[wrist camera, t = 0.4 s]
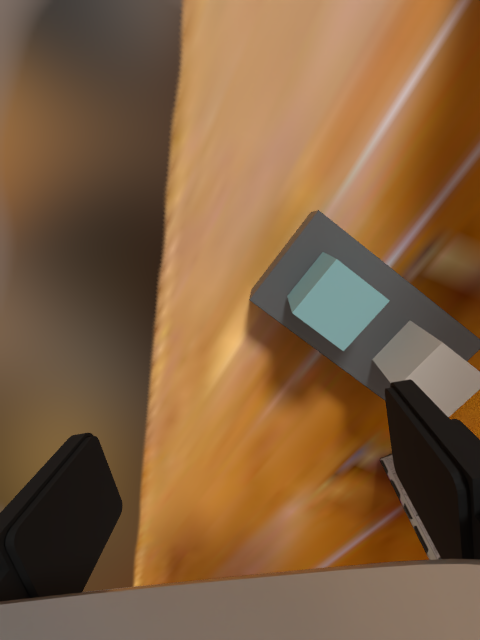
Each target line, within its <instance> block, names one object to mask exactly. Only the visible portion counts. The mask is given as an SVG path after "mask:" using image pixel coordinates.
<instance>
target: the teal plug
mask: <svg viewBox="0 0 480 640" xmlns="http://www.w3.org/2000/svg"><path fill="white" fill-rule="evenodd" d="M287 297H288V301H289V304H290V308H291V311H292V313H293V314H294V315H295V316H297V317H298V318H299V319H301V320H302V321H303V322H305V323H306V324H307V325H309V326H310V327H311V328H313V329H314V330H315V331H317V332H318V333H319V334H321V335H322V336H324V337H325V338H326V339H328V340H329V341H330V342H332V343H333V344H334V345H336V346H337V347H338V348H340V349H341V350H342V351H344V350H345V349H346V348H347V347H348V346H349V345H350V344H351V343H352V342H353V340H354V339H355V338H356V337H357V336H358V335H359V334H360V333H361V332H362V331H363V330H364V328H365V327H366V326H367V325H368V324H369V323H370V322H371V321H372V320H373V319H374V318H375V316H376V315H377V314H378V313H379V312H380V311H381V310H382V309H383V308H384V307H385V306H386V304H387V303H388V302H389V301H390V300H388V299H387V298H386V297H385V296H383V295H382V294H381V293H379V292H378V291H377V290H376V289H374V288H373V287H372V286H371V285H369V284H368V283H367V282H365V281H364V280H363V279H362V278H360V277H359V276H358V275H357V274H355V273H354V272H353V271H351V270H350V269H349V268H348V267H346V266H345V265H344V264H343V263H341V262H340V261H339V260H337V259H336V258H334V257H332V256H330V255H328V254H326V253H324V252H322V254H321V255H320V256H319V257H318V258H317V260H316V261H315V262H314V263H313V265H312V266H311V267H310V268H309V270H308V271H307V272H306V273H305V275H304V276H303V277H302V278H301V280H300V281H299V282H298V283H297V285H296V286H295V287H294V288H293V289H292V291H291V292H290V293H289V294H288V296H287Z"/></svg>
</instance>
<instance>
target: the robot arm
mask: <svg viewBox="0 0 480 640" xmlns="http://www.w3.org/2000/svg"><path fill="white" fill-rule="evenodd" d="M385 400H386V408H387V416H388V424H389V432H390V440H391V448H392V456H393V463H394V468H395V471H396V474H397V476H398V478H399V480H400V482H401V484H402V486H403V488H404V490H405V492H406V493H407V495H408V497H409V499H410V501H411V503H412V505H413V506H414V508H415V510H416V512H417V514H418V516H419V518H420V520H421V521H422V523H423V525H424V527H425V529H426V531H427V533H428V535H429V536H430V538H431V540H432V542H433V544H434V546H435V548H436V549H437V551H438V553H439V555H440V557H441V559H435V560H416V561H398V562H384V563H374V564H364V565H351V566H339V567H328V568H318V569H307V570H297V571H287V572H276V573H266V574H255V575H245V576H235V577H225V578H215V579H205V580H195V581H185V582H176V583H166V584H156V585H147V586H137V587H129V588H128V587H127V588H118V589H109V590H100V591H90V592H82V591H83V589H84V587H85V585H86V583H87V581H88V579H89V577H90V575H91V573H92V571H93V569H94V567H95V565H96V563H97V561H98V559H99V557H100V555H101V553H102V551H103V549H104V547H105V545H106V543H107V541H108V539H109V537H110V535H111V533H112V531H113V529H114V527H115V525H116V523H117V521H118V519H119V517H120V515H121V512H122V500H121V497H120V495H119V492H118V489H117V487H116V484H115V482H114V479H113V477H112V474H111V471H110V468H109V466H108V463H107V460H106V458H105V456H104V453H103V450H102V447H101V445H100V442H99V440H98V438H97V437H96V436H93V435H92V434H91V433H84V434H78V435H73V436H71V437H70V438H69V439H68V440H67V441H66V442H65V443H64V444H63V445H62V446H61V447H60V448H59V450H58V451H57V452H56V453H55V454H54V455H53V456H52V457H51V458H50V459H49V460H48V462H47V463H46V464H45V465H44V466H43V467H42V468H41V469H40V470H39V471H38V472H37V474H36V475H35V476H34V477H33V478H32V479H31V480H30V481H29V482H28V483H27V485H26V486H25V487H24V488H23V489H22V490H21V491H20V492H19V493H18V494H17V495H16V496H15V498H14V499H13V500H12V501H11V502H10V503H9V504H8V505H7V506H6V507H5V508H4V510H3V511H2V512H1V513H0V640H480V440H479V439H478V438H477V437H476V436H475V435H474V434H473V433H472V432H471V431H470V430H469V429H468V428H467V427H466V426H465V425H464V424H463V423H462V422H461V421H459V420H457V419H451V420H450V419H449V418H448V417H447V416H446V415H445V413H444V412H443V411H442V410H441V409H440V408H439V407H438V406H437V405H436V404H435V403H434V402H433V401H432V400H431V399H430V398H429V397H428V396H427V395H426V394H425V393H424V392H423V391H422V390H421V389H420V388H419V387H418V386H417V385H416V383H415V382H414V381H413V380H411V379H409V380H403V381H397V382H391V384H390V388H385Z"/></svg>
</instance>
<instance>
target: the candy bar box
mask: <svg viewBox="0 0 480 640" xmlns="http://www.w3.org/2000/svg"><path fill="white" fill-rule="evenodd" d="M380 462H381V464H382V466H383V467H384V470H385V472H386V474H387V476H388V478H389V480H390V482H391V484H392V486H393V488H394V490H395V492H396V494H397V496H398V498H399V500H400V502H401V504H402V506H403V508H404V510H405V512H406V514H407V516H408V518H409V520H410V522H411V524H412V526H413V528H414V530H415V532H416V534H417V536H418V538H419V540H420V542H421V544H422V546H423V548H424V550H425V552H426V554H427V556H428V558H429V560H435V559H441V557H440V555H439V553H438V551H437V549H436V548H435V546H434V544H433V542H432V540H431V538H430V536H429V535H428V533H427V531H426V529H425V527H424V525H423V523H422V521H421V520H420V518H419V516H418V514H417V512H416V510H415V508H414V506H413V505H412V503H411V501H410V499H409V497H408V495H407V493H406V492H405V490H404V488H403V486H402V484H401V482H400V480H399V478H398V476H397V474H396V471H395V468H394V463H393V456H392V454H390V455H388V456H386V457H384V458H381V459H380Z"/></svg>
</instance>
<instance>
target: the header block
mask: <svg viewBox="0 0 480 640" xmlns="http://www.w3.org/2000/svg"><path fill="white" fill-rule="evenodd" d="M322 252H324V253H326V254H328V255H330V256H332V257H334V258H336V259H337V260H339V261H340V262H341V263H343V264H344V265H345V266H346V267H348V268H349V269H350V270H351V271H353V272H354V273H355V274H357V275H358V276H359V277H360V278H362V279H363V280H364V281H365V282H367V283H368V284H369V285H371V286H372V287H373V288H374V289H376V290H377V291H378V292H379V293H381V294H382V295H383V296H385V297H386V298H387V299H388V300H390V301H389V302H388V303H387V304H386V306H385V307H384V308H383V309H382V310H381V311H380V312H379V313H378V314H377V315H376V316H375V318H374V319H373V320H372V321H371V322H370V323H369V324H368V325H367V326H366V327H365V328H364V330H363V331H362V332H361V333H360V334H359V335H358V336H357V337H356V338H355V339H354V340H353V342H352V343H351V344H350V345H349V346H348V347H347V348H346V349H345V350H344V351H342V350H341V349H340V348H338V347H337V346H336V345H334V344H333V343H332V342H330V341H329V340H328V339H326V338H325V337H324V336H322V335H321V334H319V333H318V332H317V331H315V330H314V329H313V328H311V327H310V326H309V325H307V324H306V323H305V322H303V321H302V320H301V319H299V318H298V317H297V316H295V315H294V314H293V313H292V311H291V308H290V304H289V301H288V297H287V296H288V294H289V293H290V292H291V291H292V289H293V288H294V287H295V286H296V285H297V283H298V282H299V281H300V280H301V278H302V277H303V276H304V275H305V273H306V272H307V271H308V270H309V268H310V267H311V266H312V265H313V263H314V262H315V261H316V260H317V258H318V257H319V256H320V255H321V254H322ZM249 300H250V301H251V302H253V303H254V304H256V305H257V306H258V307H260V308H261V309H262V310H264V311H265V312H266V313H268V314H269V315H270V316H272V317H273V318H274V319H276V320H277V321H278V322H280V323H281V324H282V325H284V326H285V327H287V328H288V329H289V330H291V331H292V332H293V333H295V334H296V335H297V336H299V337H300V338H301V339H303V340H304V341H305V342H307V343H308V344H309V345H311V346H312V347H314V348H315V349H316V350H318V351H319V352H320V353H322V354H323V355H324V356H326V357H327V358H328V359H330V360H331V361H332V362H334V363H335V364H336V365H338V366H339V367H341V368H342V369H343V370H345V371H346V372H347V373H349V374H350V375H351V376H353V377H354V378H355V379H357V380H358V381H359V382H361V383H362V384H363V385H365V386H366V387H367V388H369V389H370V390H372V391H373V392H374V393H376V394H377V395H378V396H380V397H381V398H382V399H384V400H385V388H390V384H391V382H397V381H403V380H409V379H411V380H413V381H414V382H415V383H416V385H417V386H418V387H419V388H420V389H421V390H422V391H423V392H424V393H425V394H426V395H427V396H428V397H429V398H430V399H431V400H432V401H433V402H434V403H435V404H436V405H437V406H438V407H439V408H440V409H441V410H442V411H443V412H444V413H445V415H446V416H447V417H449V416H450V415H452V414H453V413H454V412H455V411H456V410H457V409H458V408H459V407H460V406H462V405H463V404H464V403H465V402H466V401H467V400H468V399H469V398H470V397H472V396H473V395H474V394H475V393H476V392H477V391H478V390H479V389H480V371H478V370H477V369H476V368H474V367H473V366H472V365H471V364H469V363H468V362H467V361H468V360H469V359H470V358H471V357H472V356H473V355H474V354H475V353H476V352H477V351H478V350H479V349H480V339H479V338H478V337H476V336H475V335H474V334H473V333H471V332H470V331H469V330H468V329H466V328H465V327H464V326H463V325H461V324H460V323H459V322H458V321H456V320H455V319H454V318H453V317H451V316H450V315H449V314H448V313H446V312H445V311H444V310H443V309H441V308H440V307H439V306H438V305H436V304H435V303H434V302H433V301H431V300H430V299H429V298H428V297H426V296H425V295H424V294H423V293H421V292H420V291H419V290H418V289H416V288H415V287H414V286H413V285H411V284H410V283H409V282H408V281H406V280H405V279H404V278H403V277H401V276H400V275H399V274H398V273H396V272H395V271H394V270H393V269H391V268H390V267H389V266H388V265H386V264H385V263H384V262H383V261H381V260H380V259H379V258H378V257H376V256H375V255H374V254H373V253H371V252H370V251H369V250H368V249H366V248H365V247H364V246H363V245H361V244H360V243H359V242H358V241H356V240H355V239H354V238H353V237H351V236H350V235H349V234H348V233H346V232H345V231H344V230H343V229H341V228H340V227H339V226H338V225H336V224H335V223H334V222H333V221H331V220H330V219H329V218H328V217H326V216H325V215H324V214H323V213H321V212H320V211H319V210H317V211H313V212H311V213H310V214H309V215H308V217H307V218H306V219H305V221H304V222H303V223H302V224H301V226H300V227H299V228H298V230H297V231H296V232H295V234H294V235H293V236H292V238H291V239H290V240H289V241H288V243H287V244H286V245H285V247H284V248H283V249H282V251H281V252H280V253H279V255H278V256H277V257H276V258H275V260H274V261H273V262H272V264H271V265H270V266H269V268H268V269H267V270H266V271H265V273H264V274H263V275H262V277H261V278H260V279H259V281H258V282H257V283H256V285H255V286H254V287H253V288H252V290H251V295H250V299H249ZM385 401H386V400H385Z"/></svg>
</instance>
